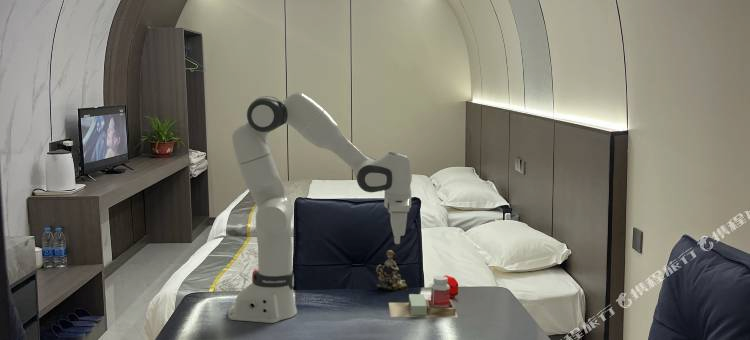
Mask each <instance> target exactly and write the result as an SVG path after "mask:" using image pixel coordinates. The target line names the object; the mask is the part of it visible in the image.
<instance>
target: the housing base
mask: <svg viewBox="0 0 750 340" xmlns="http://www.w3.org/2000/svg"><path fill="white" fill-rule="evenodd" d="M425 301H426V304H427V316H419V315H411V305H409V302H388V308H389V309H388V310H389V314H390V315H389V316H390V318H458V317H459V316H458V314H457V310H456V306H455V304H454V301H453V299H449V308H431V299H425Z"/></svg>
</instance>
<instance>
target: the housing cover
mask: <svg viewBox="0 0 750 340" xmlns="http://www.w3.org/2000/svg"><path fill="white" fill-rule="evenodd" d="M425 300H426V298H425V295H424V294H423V293H421V294H420V293H418V294H416V293H415V294H414V293H411V294H410V293H409V294H408V303H409V305H411V315H419V316H427V304H426V301H425Z"/></svg>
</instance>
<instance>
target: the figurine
mask: <svg viewBox="0 0 750 340" xmlns="http://www.w3.org/2000/svg"><path fill="white" fill-rule="evenodd" d="M385 255H386V256H387V258H388V259H387V260H385V262H384V264H383V265H382V264H378V265H377V267H376V269H375V272H376V275H377V276H376V277H377V278H378V282H379V283H378V284H377V283H376V288H375V290H376V291H391V292H393V291H394V292H395V291H409V289H408V287H409V285H408V284H407V283H406V280H405V279H402V276H401V274H400V273H398V272H399V271H400V269H399V267H398V266H397V263H396V259H397V255H396V253H395V252H394V251H393V250H392V249H389V250H387V251H386V252H385Z"/></svg>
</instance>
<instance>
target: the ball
mask: <svg viewBox="0 0 750 340" xmlns="http://www.w3.org/2000/svg"><path fill="white" fill-rule="evenodd" d="M443 276H444V277H447V278H448V282H447V284H448V285H449V286H450V297H449V299H450V298H455V297H457V296H458V294H459V282H458V281H457V280H456V279H455V278H456V277H453V276H450V275H443Z"/></svg>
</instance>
